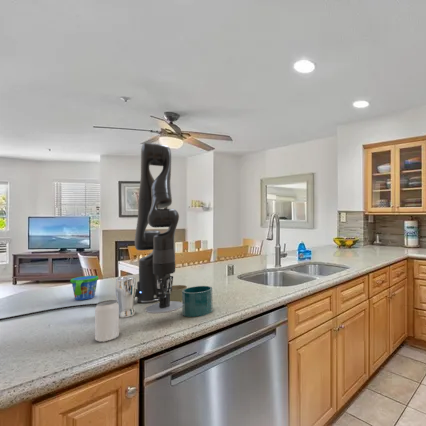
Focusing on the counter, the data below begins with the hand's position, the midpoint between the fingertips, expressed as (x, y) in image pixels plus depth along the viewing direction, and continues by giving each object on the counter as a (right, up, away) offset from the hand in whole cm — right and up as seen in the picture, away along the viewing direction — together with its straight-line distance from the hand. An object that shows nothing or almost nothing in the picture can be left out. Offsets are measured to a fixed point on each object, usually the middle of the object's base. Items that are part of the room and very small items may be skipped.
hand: (164, 305), depth 112 cm
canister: (+8, -6, +11) cm, 15 cm away
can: (-12, -7, -14) cm, 20 cm away
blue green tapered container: (-56, -7, +31) cm, 64 cm away
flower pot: (-7, -6, +23) cm, 25 cm away
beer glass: (-20, -6, +8) cm, 22 cm away
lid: (0, -1, 0) cm, 1 cm away
